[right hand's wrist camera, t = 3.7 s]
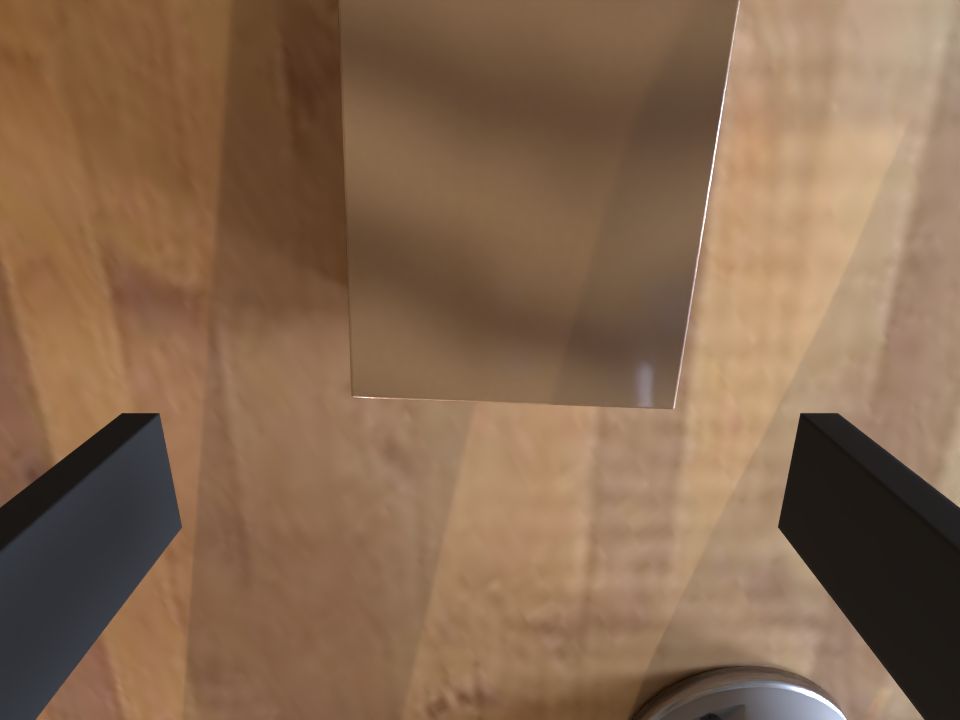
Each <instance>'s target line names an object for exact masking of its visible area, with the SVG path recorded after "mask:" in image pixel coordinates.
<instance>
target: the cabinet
mask: <svg viewBox="0 0 960 720" xmlns="http://www.w3.org/2000/svg"><path fill="white" fill-rule="evenodd" d="M739 3H740V0H338V18H339V47H340V76H341V105H342V134H343V163H344V192H345V221H346V250H347V279H348V308H349V337H350V366H351V395H352V397H354V398H378V399H405V400H433V401H461V402H489V403H516V404H544V405H572V406H599V407H627V408H655V409H674V408H675V402H676V396H677V390H678V384H679V377H680V371H681V365H682V359H683V352H684V346H685V340H686V334H687V327H688V321H689V315H690V309H691V303H692V296H693V290H694V284H695V278H696V271H697V265H698V259H699V253H700V246H701V240H702V234H703V228H704V221H705V215H706V209H707V203H708V197H709V190H710V184H711V178H712V172H713V165H714V159H715V153H716V147H717V140H718V134H719V128H720V122H721V115H722V109H723V103H724V97H725V90H726V84H727V78H728V72H729V66H730V59H731V53H732V47H733V41H734V34H735V28H736V22H737V16H738V9H739Z"/></svg>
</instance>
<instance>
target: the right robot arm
mask: <svg viewBox="0 0 960 720" xmlns="http://www.w3.org/2000/svg"><path fill="white" fill-rule="evenodd" d="M181 528H182V525H181V520H180V515H179V510H178V505H177V500H176V495H175V490H174V485H173V479H172V474H171V469H170V464H169V459H168V454H167V449H166V444H165V439H164V434H163V429H162V424H161V419H160V414H159V413H122V414H121V415H119V416H118V417H117V418H115V419H114V420H113V421H112V422H110V423H109V424H108V425H106V426H105V427H104V428H102V429H101V430H100V431H99V432H97V433H96V434H95V435H93V436H92V437H91V438H90V439H88V440H87V441H86V442H84V443H83V444H82V445H81V446H79V447H78V448H77V449H75V450H74V451H73V452H72V453H70V454H69V455H68V456H66V457H65V458H64V459H63V460H61V461H60V462H59V463H57V464H56V465H55V466H54V467H52V468H51V469H50V470H48V471H47V472H46V473H45V474H43V475H42V476H41V477H39V478H38V479H37V480H35V481H34V482H33V483H32V484H30V485H29V486H28V487H26V488H25V489H24V490H23V491H21V492H20V493H19V494H17V495H16V496H15V497H14V498H12V499H11V500H10V501H8V502H7V503H6V504H5V505H3V506H2V507H1V508H0V720H36V718H37V717H38V716H39V714H40V713H41V712H42V710H43V709H44V708H45V706H46V705H47V704H48V703H49V701H50V700H51V699H52V697H53V696H54V695H55V693H56V692H57V691H58V689H59V688H60V687H61V685H62V684H63V683H64V681H65V680H66V679H67V678H68V676H69V675H70V674H71V672H72V671H73V670H74V668H75V667H76V666H77V664H78V663H79V662H80V660H81V659H82V658H83V657H84V655H85V654H86V653H87V651H88V650H89V649H90V647H91V646H92V645H93V643H94V642H95V641H96V639H97V638H98V637H99V635H100V634H101V633H102V632H103V630H104V629H105V628H106V626H107V625H108V624H109V622H110V621H111V620H112V618H113V617H114V616H115V614H116V613H117V612H118V611H119V609H120V608H121V607H122V605H123V604H124V603H125V601H126V600H127V599H128V597H129V596H130V595H131V593H132V592H133V591H134V590H135V588H136V587H137V586H138V584H139V583H140V582H141V580H142V579H143V578H144V576H145V575H146V574H147V572H148V571H149V570H150V568H151V567H152V566H153V565H154V563H155V562H156V561H157V559H158V558H159V557H160V555H161V554H162V553H163V551H164V550H165V549H166V547H167V546H168V545H169V544H170V542H171V541H172V540H173V538H174V537H175V536H176V534H177V533H178V532H179V530H180V529H181ZM778 528H779V529H780V530H781V532H782V533H783V534H784V536H785V537H786V538H787V540H788V541H789V542H790V544H791V545H792V546H793V547H794V549H795V550H796V551H797V553H798V554H799V555H800V557H801V558H802V559H803V561H804V562H805V563H806V565H807V566H808V567H809V568H810V570H811V571H812V572H813V574H814V575H815V576H816V578H817V579H818V580H819V582H820V583H821V584H822V586H823V587H824V588H825V590H826V591H827V592H828V593H829V595H830V596H831V597H832V599H833V600H834V601H835V603H836V604H837V605H838V607H839V608H840V609H841V611H842V612H843V613H844V614H845V616H846V617H847V618H848V620H849V621H850V622H851V624H852V625H853V626H854V628H855V629H856V630H857V632H858V633H859V634H860V635H861V637H862V638H863V639H864V641H865V642H866V643H867V645H868V646H869V647H870V649H871V650H872V651H873V653H874V654H875V655H876V657H877V658H878V659H879V660H880V662H881V663H882V664H883V666H884V667H885V668H886V670H887V671H888V672H889V674H890V675H891V676H892V678H893V679H894V680H895V681H896V683H897V684H898V685H899V687H900V688H901V689H902V691H903V692H904V693H905V695H906V696H907V697H908V699H909V700H910V701H911V703H912V704H913V705H914V706H915V708H916V709H917V710H918V712H919V713H920V714H921V716H922V717H923V718H924V720H960V508H959V507H958V506H957V505H955V504H954V503H953V502H952V501H950V500H949V499H948V498H946V497H945V496H944V495H943V494H941V493H940V492H939V491H937V490H936V489H935V488H934V487H932V486H931V485H930V484H928V483H927V482H926V481H925V480H923V479H922V478H921V477H919V476H918V475H917V474H915V473H914V472H913V471H912V470H910V469H909V468H908V467H906V466H905V465H904V464H903V463H901V462H900V461H899V460H897V459H896V458H895V457H894V456H892V455H891V454H890V453H888V452H887V451H886V450H885V449H883V448H882V447H881V446H879V445H878V444H877V443H876V442H874V441H873V440H872V439H870V438H869V437H868V436H867V435H865V434H864V433H863V432H861V431H860V430H859V429H858V428H856V427H855V426H854V425H852V424H851V423H850V422H848V421H847V420H846V419H845V418H843V417H842V416H841V415H839V414H838V413H801V414H800V419H799V424H798V429H797V434H796V439H795V444H794V449H793V454H792V459H791V464H790V469H789V474H788V479H787V485H786V490H785V495H784V500H783V505H782V510H781V515H780V520H779V525H778ZM633 720H847V719H846V717H845V716H844V714H843V713H842V711H841V709H840V708H839V706H838V705H837V703H836V702H835V701H834V699H833V698H832V697H831V696H830V695H829V694H828V693H827V692H826V691H825V690H823V689H822V688H821V687H820V686H818V685H816V684H815V683H813V682H812V681H810V680H808V679H806V678H804V677H802V676H799V675H797V674H794V673H791V672H787V671H784V670H779V669H774V668H767V667H755V666H743V667H730V668H723V669H717V670H712V671H709V672H705V673H701V674H698V675H695V676H692V677H690V678H687V679H685V680H683V681H680V682H678V683H676V684H674V685H673V686H671V687H669V688H667V689H666V690H664V691H663V692H661V693H659V694H658V695H657V696H656V697H654V698H653V699H652V700H650V701H649V702H648V703H647V704H646V705H645V706H644V707H643V708H642V709H641V710H640V711H639V712H638V713H637V715H636V716H635V717H634V719H633Z"/></svg>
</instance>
